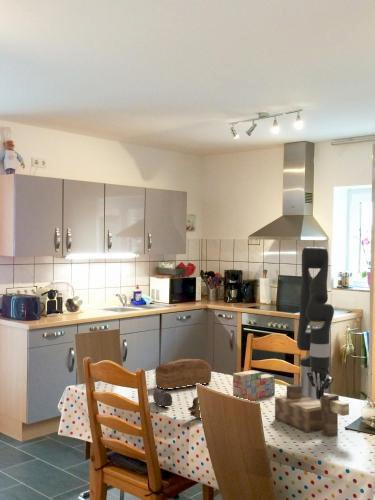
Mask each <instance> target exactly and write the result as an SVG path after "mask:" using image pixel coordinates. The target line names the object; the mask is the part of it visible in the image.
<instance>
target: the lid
mask: <svg viewBox="0 0 375 500" xmlns="http://www.w3.org/2000/svg"><path fill="white" fill-rule="evenodd" d="M275 400H277V401H280V402H282V403H285V404H287V405H290V406H292V407H295V408H298V409H300V410H303V411H305V412H310V411H316V410H321V408H320V401H318V400H315V399H312V398H309V397H307V396H304V395H302V386H300V385H299V384H296V383H295V384H288V385H286V395H285V394H284V395H279V396H278V395H277V396H275V397H274V401H275Z"/></svg>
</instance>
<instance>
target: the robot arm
mask: <svg viewBox="0 0 375 500" xmlns="http://www.w3.org/2000/svg"><path fill="white" fill-rule="evenodd" d="M310 269H317V270H318V269H319V271H318V272H317V274H316V275H314V277H312V276H311V272H310ZM328 273H329V253H328V249H327V248H325V247H319V246H307V247H303V248H302V252H301V283H300V284H301V285H300V296H299V320H298V327H297V329H298V330H297V334H296V335H297V336H296V337H297V338H296V345H297V346H296V347H297V349H298V350H299V351H305V352H306V351H307V352H308V351H309V355H307V356H304V357H302V358H300V360H299V361H300V362H299V363H300V365H299V366H300V369H299V370H300V372H299V375H300V377H299V378H300V379H299V381H298V385H300V386H302V395H304V396H307V397H309V398H312V399H315V400H318V401H320V397H321V396H323V395H325V394H324V392H325V390H327V389H329V387H330V386H331V384H332V383H333V381H334V377H331V376H330V372H329V368H330V366H331V363H330V362H331V361H330V359H331V357H330V356H331V354H330V353H331V352H330V351H331V349H330V330H331V325H332V321H333V318H334V314H335V310H334V306H333V305H332V304H331V303H327V302H328V300H329V299H328V298H329V297H328V296H329V295H328V275H329V274H328ZM311 322H322V323H323V324H322V325H321V326H316V327H312V328H311V329H309V330H307V328H308V326H309V324H310V323H311Z"/></svg>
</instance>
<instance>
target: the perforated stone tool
mask: <svg viewBox="0 0 375 500" xmlns="http://www.w3.org/2000/svg"><path fill="white" fill-rule="evenodd" d="M152 397H153V401H154V402H156V405H158V404H159V405H161V406H160V407H162V406H170V407H171V406H172V404H173V397H172V395H171V394H170V393H169V391H167V390H164V389H157V390H155V391H154V392H153V396H152ZM159 405H158V406H159Z"/></svg>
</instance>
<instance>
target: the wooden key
mask: <svg viewBox="0 0 375 500" xmlns="http://www.w3.org/2000/svg"><path fill="white" fill-rule="evenodd" d="M320 408H321V397H320ZM329 411H331V412H334V413H336V414H338V415H339V416H344V417H345V416H348V415H350V403H348V402H344V401H341V400H336V399H329Z"/></svg>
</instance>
